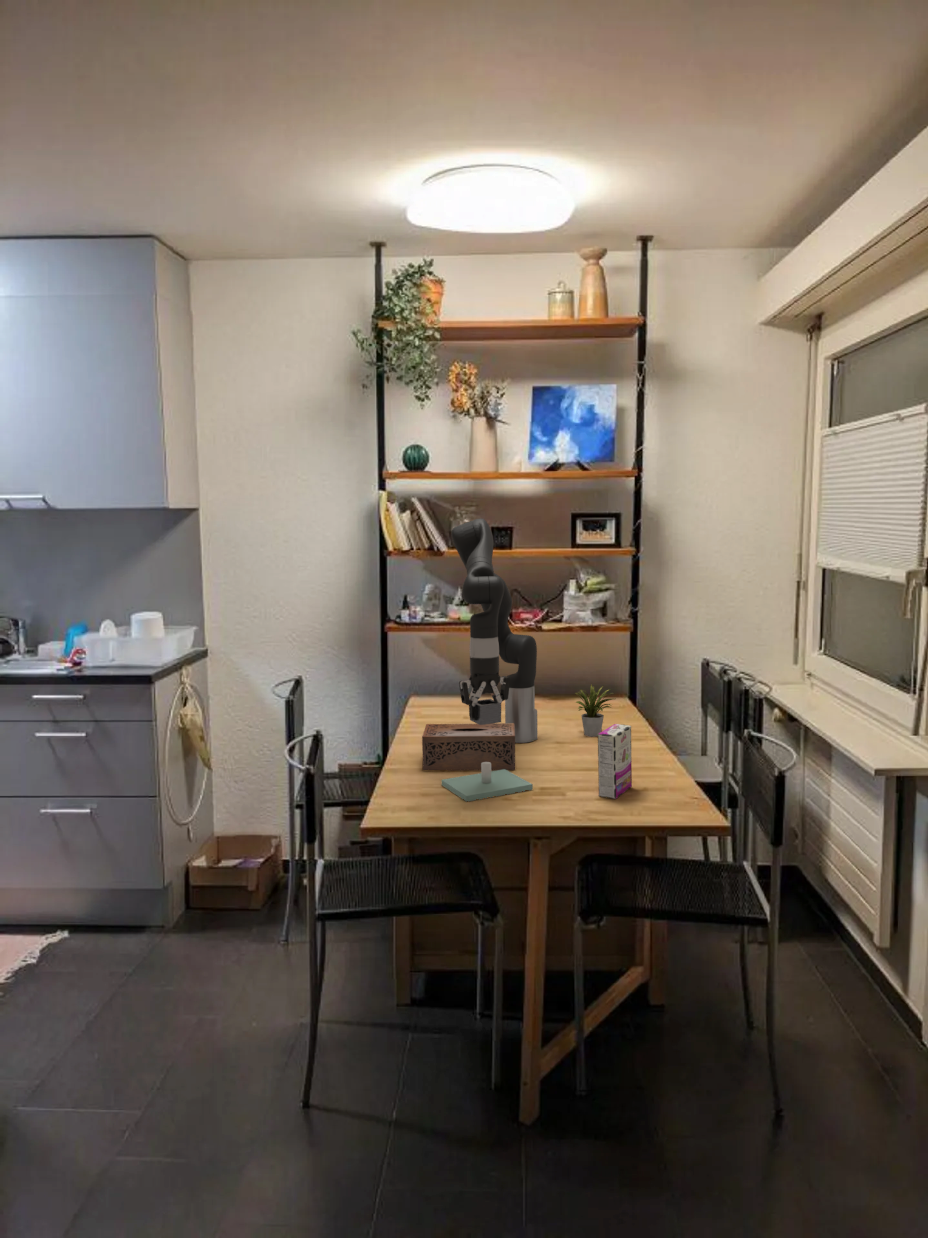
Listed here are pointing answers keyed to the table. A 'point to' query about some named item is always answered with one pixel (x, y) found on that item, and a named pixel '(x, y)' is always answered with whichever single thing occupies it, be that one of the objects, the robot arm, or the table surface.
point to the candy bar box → (614, 761)
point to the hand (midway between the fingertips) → (485, 718)
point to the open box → (488, 712)
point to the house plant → (592, 712)
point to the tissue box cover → (468, 746)
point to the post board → (486, 784)
